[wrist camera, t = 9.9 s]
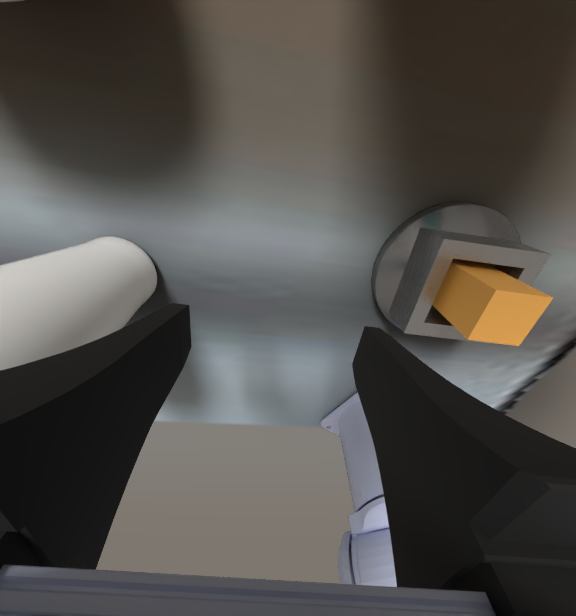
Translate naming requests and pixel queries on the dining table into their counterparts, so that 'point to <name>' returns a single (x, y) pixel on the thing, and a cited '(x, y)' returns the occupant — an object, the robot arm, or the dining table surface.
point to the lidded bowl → (10, 0)
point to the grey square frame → (444, 262)
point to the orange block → (488, 303)
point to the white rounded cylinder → (70, 297)
